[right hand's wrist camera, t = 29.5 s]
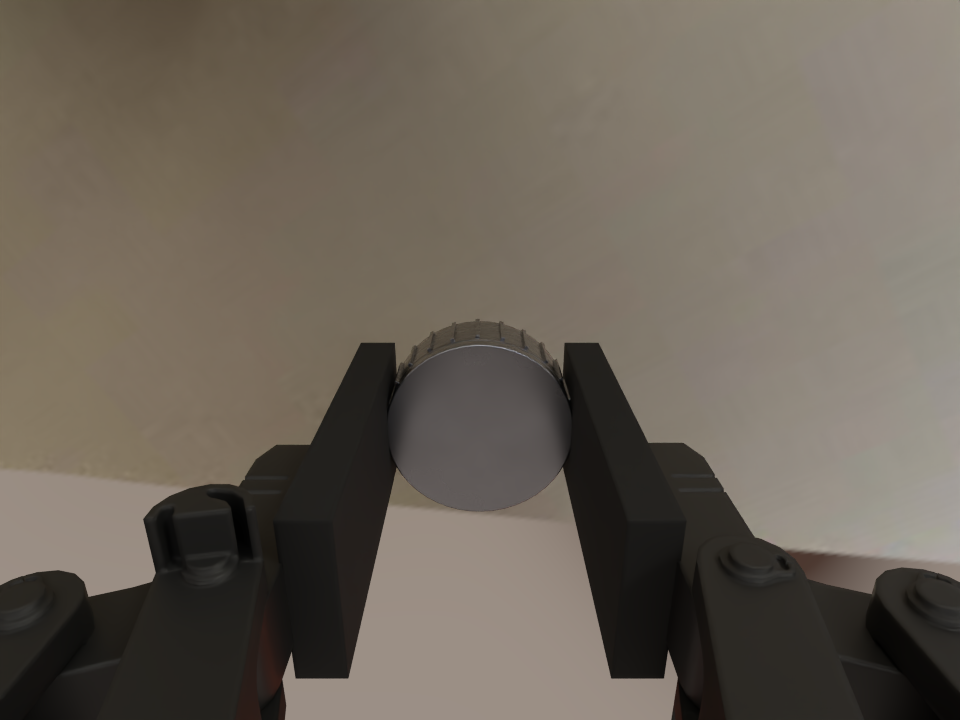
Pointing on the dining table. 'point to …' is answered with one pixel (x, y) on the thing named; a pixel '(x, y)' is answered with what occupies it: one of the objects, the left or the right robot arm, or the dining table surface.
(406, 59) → the dining table surface
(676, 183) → the dining table surface
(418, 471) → the cap
